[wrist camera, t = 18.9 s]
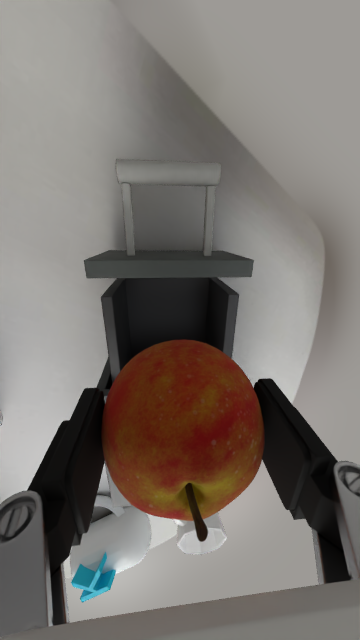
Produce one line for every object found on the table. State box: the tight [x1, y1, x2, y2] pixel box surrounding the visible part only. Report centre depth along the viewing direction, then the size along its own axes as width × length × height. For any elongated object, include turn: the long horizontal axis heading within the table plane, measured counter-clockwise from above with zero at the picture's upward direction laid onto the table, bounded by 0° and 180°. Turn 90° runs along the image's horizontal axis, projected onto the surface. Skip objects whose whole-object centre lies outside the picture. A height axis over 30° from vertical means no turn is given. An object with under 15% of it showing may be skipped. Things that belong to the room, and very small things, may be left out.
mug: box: [70, 495, 151, 602], centre depth 34 cm, size 12×9×12 cm
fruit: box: [101, 339, 264, 542], centre depth 9 cm, size 7×7×8 cm
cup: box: [172, 512, 227, 555], centre depth 33 cm, size 7×10×8 cm
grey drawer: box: [84, 159, 254, 384], centre depth 19 cm, size 20×11×8 cm, turn 179°
